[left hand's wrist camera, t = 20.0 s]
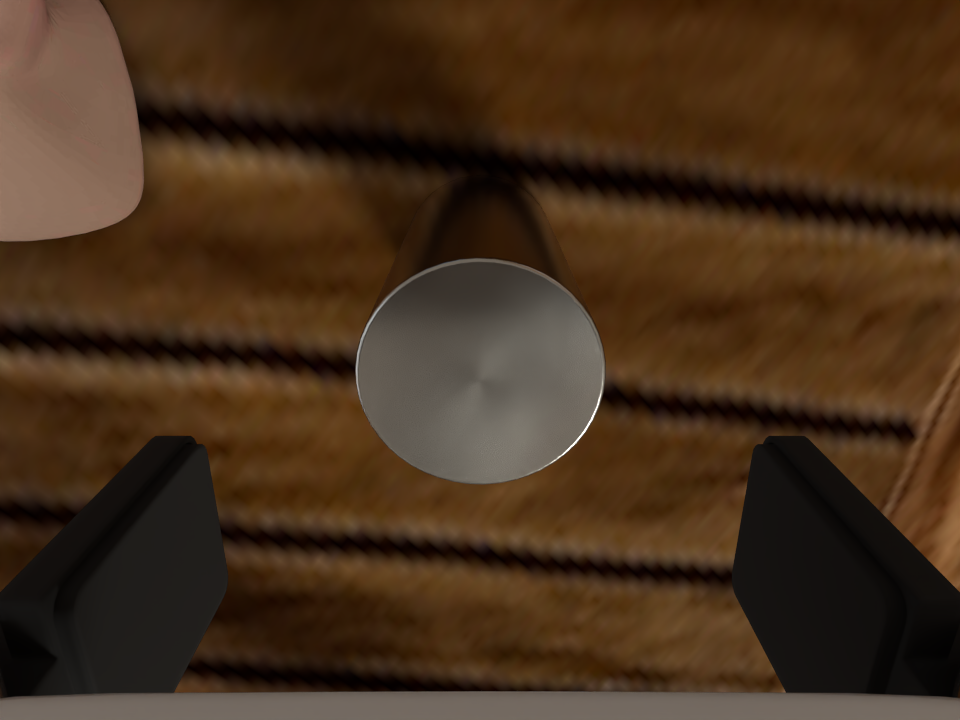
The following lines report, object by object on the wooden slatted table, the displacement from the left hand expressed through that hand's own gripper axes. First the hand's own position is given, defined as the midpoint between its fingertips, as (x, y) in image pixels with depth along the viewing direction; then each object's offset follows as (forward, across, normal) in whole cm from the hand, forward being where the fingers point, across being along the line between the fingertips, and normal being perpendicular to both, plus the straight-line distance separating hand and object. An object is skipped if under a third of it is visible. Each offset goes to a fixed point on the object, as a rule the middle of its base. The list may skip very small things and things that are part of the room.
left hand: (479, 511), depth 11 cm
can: (+15, 0, -2) cm, 15 cm away
